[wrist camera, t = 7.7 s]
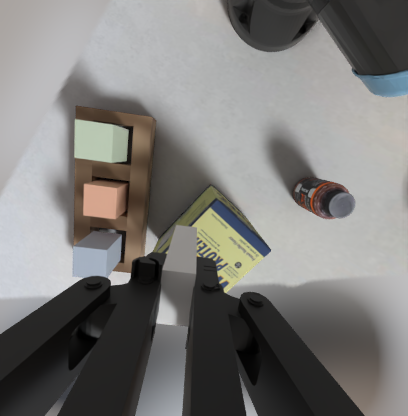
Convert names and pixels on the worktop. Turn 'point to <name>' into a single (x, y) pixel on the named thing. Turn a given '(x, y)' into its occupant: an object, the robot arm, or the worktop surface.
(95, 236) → the slate upright cuboid
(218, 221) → the protein box
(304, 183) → the supplement bottle
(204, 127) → the worktop surface
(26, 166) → the worktop surface
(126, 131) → the sage rectangular block
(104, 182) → the peach rectangular prism
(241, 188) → the worktop surface
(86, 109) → the walnut board
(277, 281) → the worktop surface
